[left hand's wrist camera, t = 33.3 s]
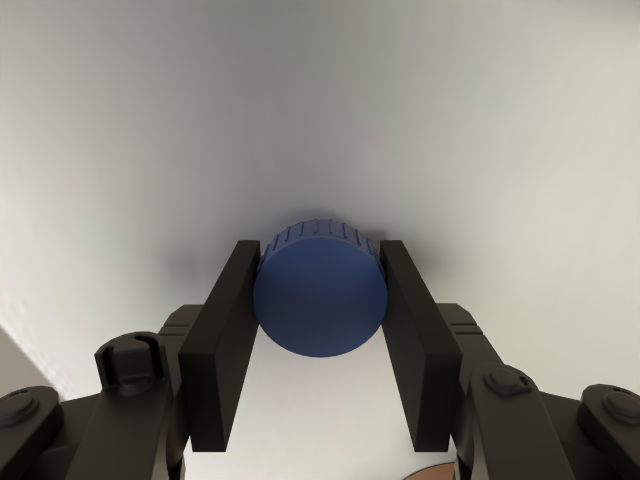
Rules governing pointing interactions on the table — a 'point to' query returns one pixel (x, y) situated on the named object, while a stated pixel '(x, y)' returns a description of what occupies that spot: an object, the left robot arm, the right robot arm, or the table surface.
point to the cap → (320, 289)
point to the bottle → (435, 473)
